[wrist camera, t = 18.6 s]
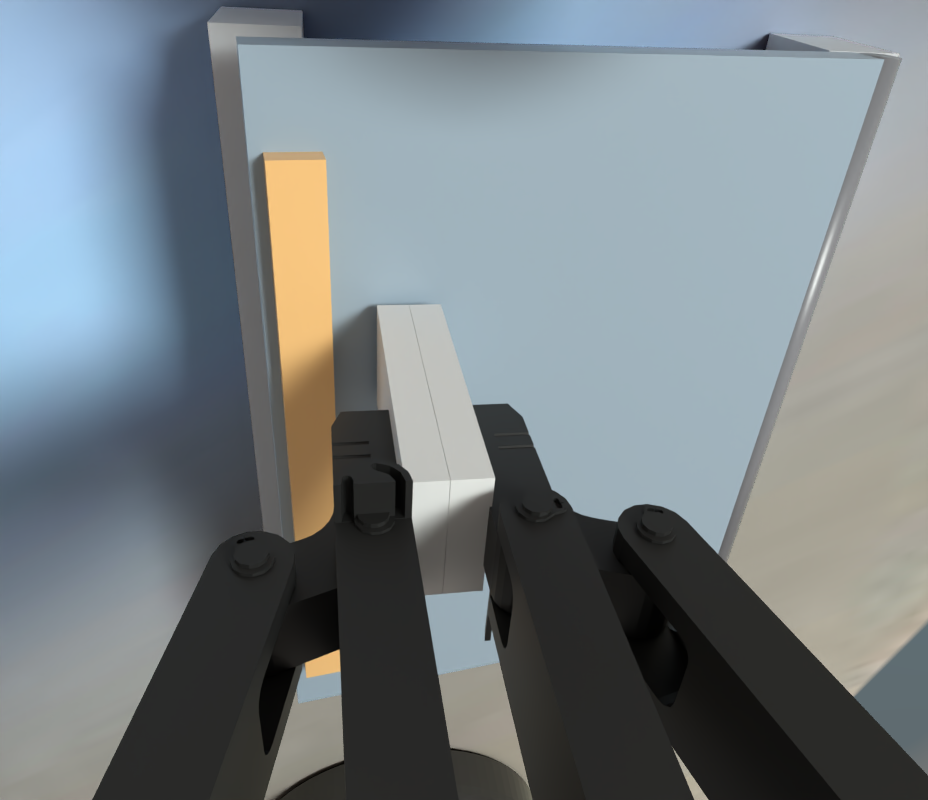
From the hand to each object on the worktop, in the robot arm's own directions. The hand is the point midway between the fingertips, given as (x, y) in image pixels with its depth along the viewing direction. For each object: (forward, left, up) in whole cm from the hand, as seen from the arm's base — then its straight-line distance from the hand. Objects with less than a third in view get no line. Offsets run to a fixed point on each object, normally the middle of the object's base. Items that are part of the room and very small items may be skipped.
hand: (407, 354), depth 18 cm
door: (-3, -4, -2) cm, 6 cm away
